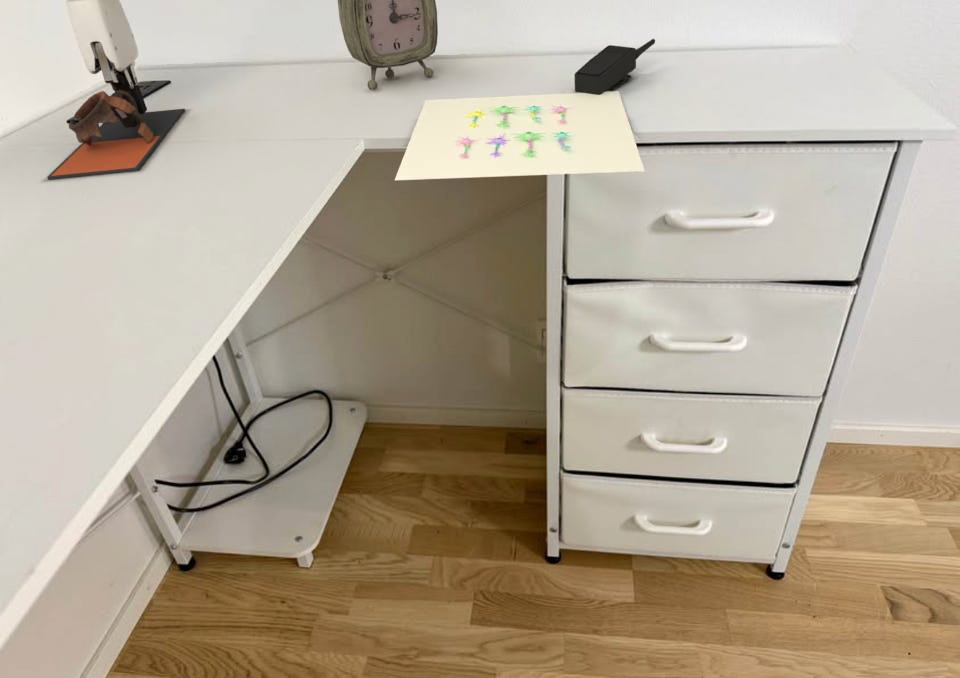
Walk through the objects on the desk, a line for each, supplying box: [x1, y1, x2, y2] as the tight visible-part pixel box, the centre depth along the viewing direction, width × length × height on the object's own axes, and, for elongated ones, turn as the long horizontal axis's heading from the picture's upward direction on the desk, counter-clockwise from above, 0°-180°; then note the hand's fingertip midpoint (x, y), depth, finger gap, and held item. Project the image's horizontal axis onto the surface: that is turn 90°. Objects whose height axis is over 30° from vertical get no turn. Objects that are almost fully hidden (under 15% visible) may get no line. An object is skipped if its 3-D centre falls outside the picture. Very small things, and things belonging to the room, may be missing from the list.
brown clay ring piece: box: [68, 90, 154, 145], centre depth 99 cm, size 12×10×8 cm
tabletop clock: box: [337, 0, 439, 91], centre depth 112 cm, size 14×9×25 cm, turn 120°
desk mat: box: [46, 108, 186, 181], centre depth 102 cm, size 12×26×1 cm, turn 6°
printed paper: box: [394, 90, 645, 181], centre depth 93 cm, size 30×30×2 cm
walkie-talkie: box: [574, 38, 656, 95], centre depth 109 cm, size 6×6×20 cm
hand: (136, 113), depth 107 cm, fingers closed
